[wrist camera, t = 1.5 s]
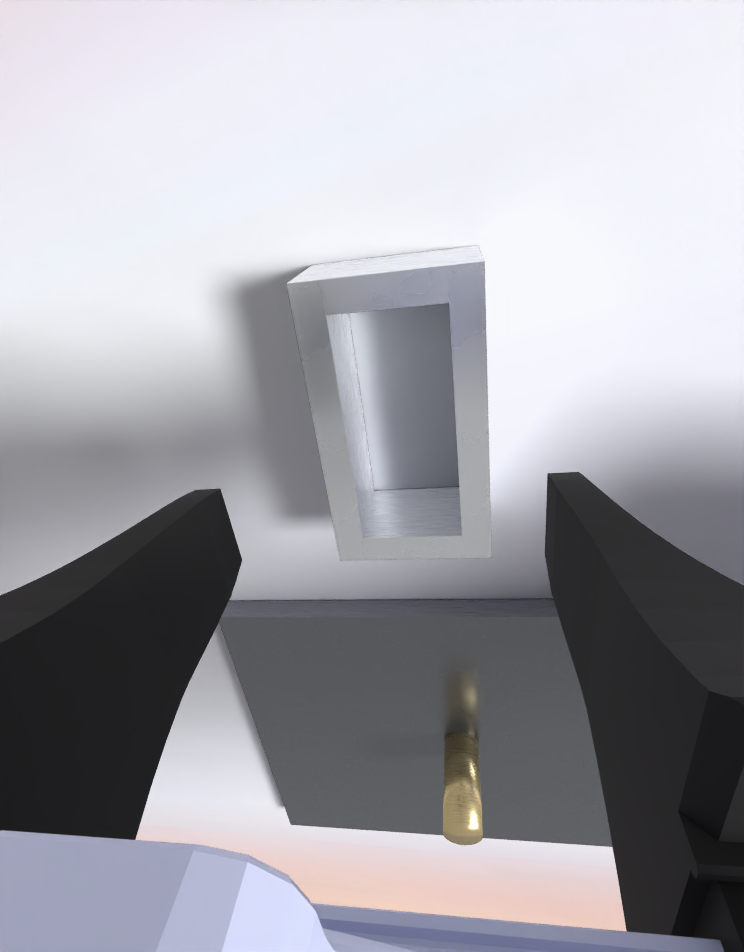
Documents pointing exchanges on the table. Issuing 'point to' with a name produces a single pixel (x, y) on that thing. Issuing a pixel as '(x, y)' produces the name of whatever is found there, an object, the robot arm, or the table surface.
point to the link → (341, 415)
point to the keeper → (422, 717)
